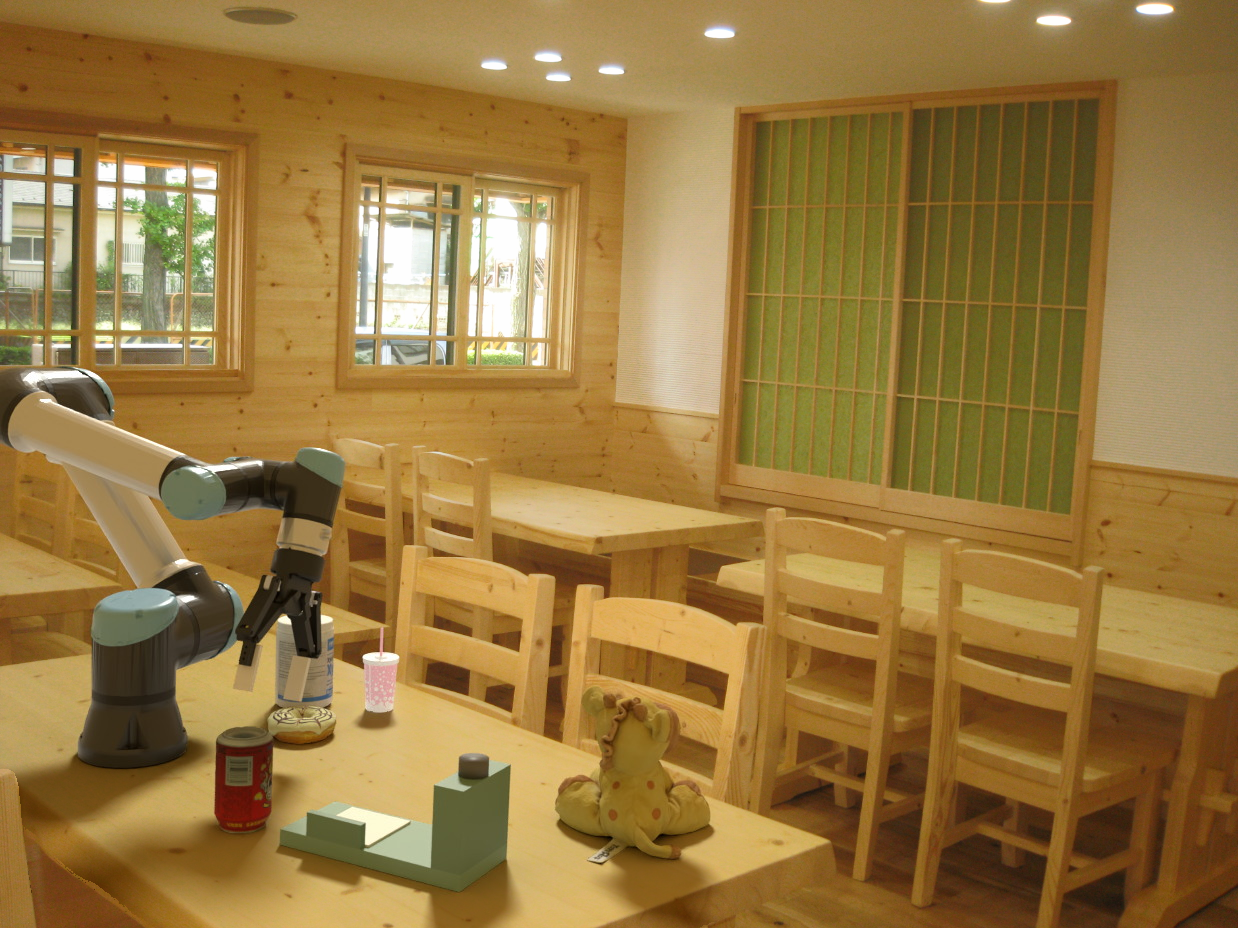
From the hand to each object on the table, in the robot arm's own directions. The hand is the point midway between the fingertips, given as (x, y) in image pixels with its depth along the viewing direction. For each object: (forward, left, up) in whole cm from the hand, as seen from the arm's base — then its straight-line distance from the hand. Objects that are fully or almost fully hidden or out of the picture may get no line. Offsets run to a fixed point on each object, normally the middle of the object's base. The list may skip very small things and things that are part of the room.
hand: (268, 695), depth 181 cm
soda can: (+11, -18, -11) cm, 24 cm away
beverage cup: (-4, +33, -11) cm, 35 cm away
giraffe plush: (+54, +8, -11) cm, 56 cm away
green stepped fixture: (+32, -15, -11) cm, 37 cm away
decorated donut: (-6, +15, -11) cm, 20 cm away
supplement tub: (-16, +28, -11) cm, 34 cm away
